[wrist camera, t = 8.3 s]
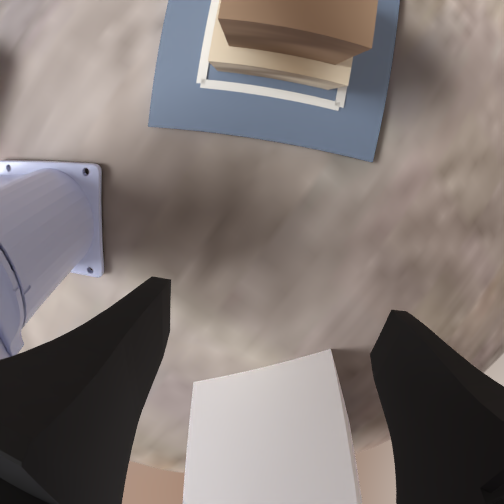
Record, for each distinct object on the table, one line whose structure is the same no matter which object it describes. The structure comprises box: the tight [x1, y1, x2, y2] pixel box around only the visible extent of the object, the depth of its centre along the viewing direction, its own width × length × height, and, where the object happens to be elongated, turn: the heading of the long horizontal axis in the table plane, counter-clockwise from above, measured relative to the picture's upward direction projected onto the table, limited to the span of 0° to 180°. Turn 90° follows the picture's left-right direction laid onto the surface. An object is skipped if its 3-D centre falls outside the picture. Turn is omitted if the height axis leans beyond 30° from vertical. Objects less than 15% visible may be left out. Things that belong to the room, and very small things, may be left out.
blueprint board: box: [148, 0, 400, 162], centre depth 14 cm, size 13×13×1 cm
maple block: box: [208, 0, 353, 90], centre depth 12 cm, size 6×6×4 cm
